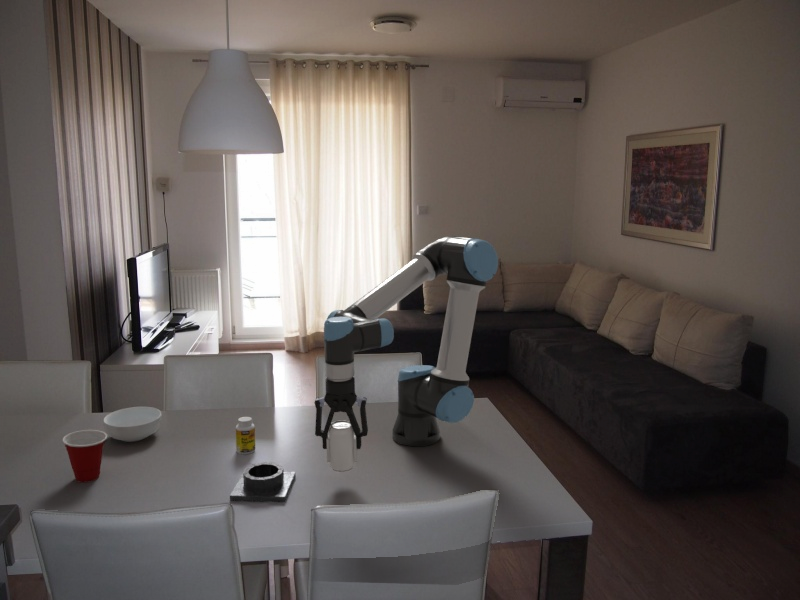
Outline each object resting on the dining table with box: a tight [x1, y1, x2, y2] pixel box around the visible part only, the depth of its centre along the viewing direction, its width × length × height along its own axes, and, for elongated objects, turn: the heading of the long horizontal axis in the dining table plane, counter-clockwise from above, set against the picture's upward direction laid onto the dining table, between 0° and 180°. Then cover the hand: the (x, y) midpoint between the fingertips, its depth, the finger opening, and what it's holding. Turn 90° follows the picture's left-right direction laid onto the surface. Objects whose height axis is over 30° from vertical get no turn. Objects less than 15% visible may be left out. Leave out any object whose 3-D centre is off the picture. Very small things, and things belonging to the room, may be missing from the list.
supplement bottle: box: [235, 416, 256, 455], centre depth 188 cm, size 6×6×10 cm
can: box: [328, 419, 356, 473], centre depth 167 cm, size 6×6×12 cm
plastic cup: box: [62, 429, 108, 483], centre depth 170 cm, size 11×11×12 cm
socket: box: [229, 461, 297, 503], centre depth 166 cm, size 14×14×5 cm
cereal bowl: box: [103, 406, 163, 443], centre depth 198 cm, size 17×17×7 cm
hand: (342, 459), depth 168 cm, fingers closed on can, 6 cm apart
